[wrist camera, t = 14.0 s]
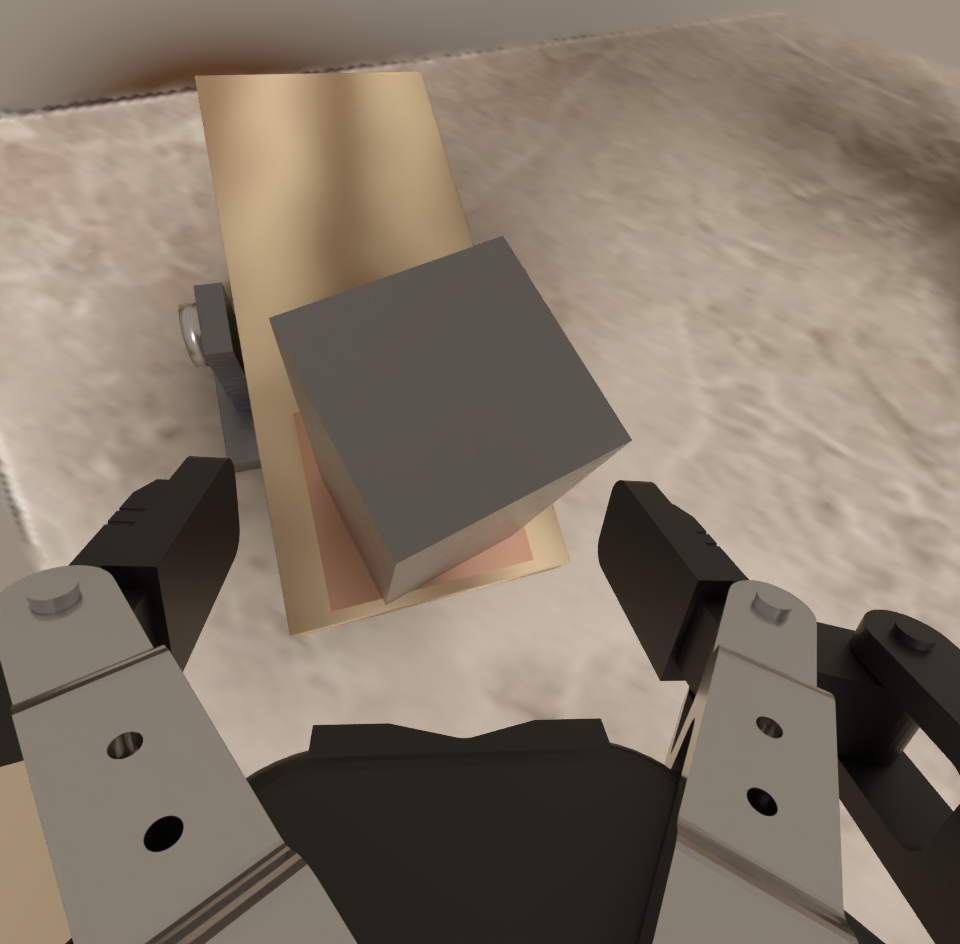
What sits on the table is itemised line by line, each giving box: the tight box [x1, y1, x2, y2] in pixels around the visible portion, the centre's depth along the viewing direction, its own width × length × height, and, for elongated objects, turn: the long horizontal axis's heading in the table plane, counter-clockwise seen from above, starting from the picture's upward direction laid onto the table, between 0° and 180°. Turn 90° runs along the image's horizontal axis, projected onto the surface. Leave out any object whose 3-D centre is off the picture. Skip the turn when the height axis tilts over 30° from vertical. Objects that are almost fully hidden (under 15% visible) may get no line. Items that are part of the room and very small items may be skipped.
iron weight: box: [269, 236, 632, 605], centre depth 15 cm, size 5×5×10 cm
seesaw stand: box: [179, 268, 528, 472], centre depth 25 cm, size 14×8×6 cm, turn 105°
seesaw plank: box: [195, 72, 570, 636], centre depth 23 cm, size 10×24×2 cm, turn 15°
